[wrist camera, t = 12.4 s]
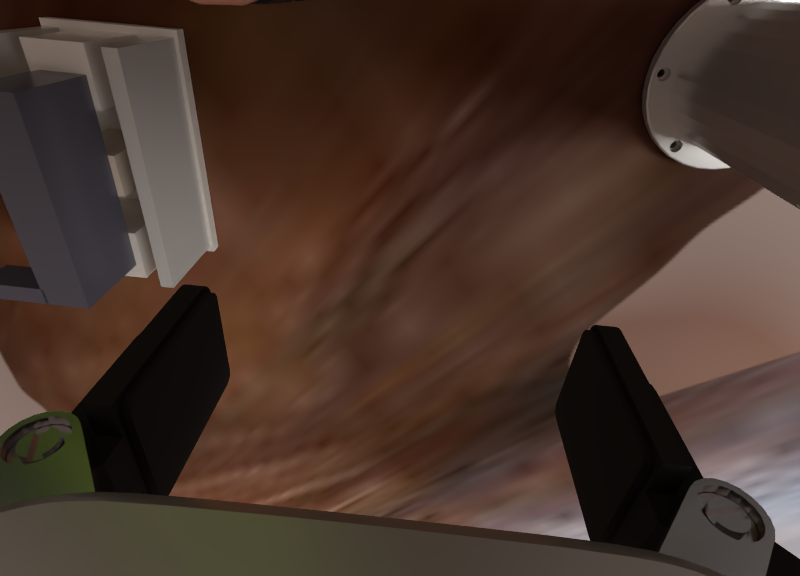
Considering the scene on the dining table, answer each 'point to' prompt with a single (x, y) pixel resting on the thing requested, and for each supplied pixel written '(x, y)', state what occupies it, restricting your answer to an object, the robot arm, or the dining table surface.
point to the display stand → (135, 129)
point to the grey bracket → (59, 192)
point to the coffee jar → (239, 2)
